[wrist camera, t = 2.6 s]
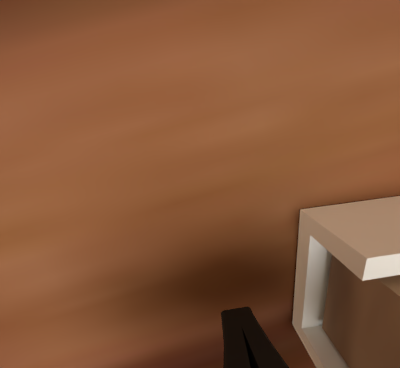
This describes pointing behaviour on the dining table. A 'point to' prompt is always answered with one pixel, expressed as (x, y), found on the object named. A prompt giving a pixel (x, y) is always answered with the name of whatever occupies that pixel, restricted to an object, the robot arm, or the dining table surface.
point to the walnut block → (363, 318)
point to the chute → (347, 254)
